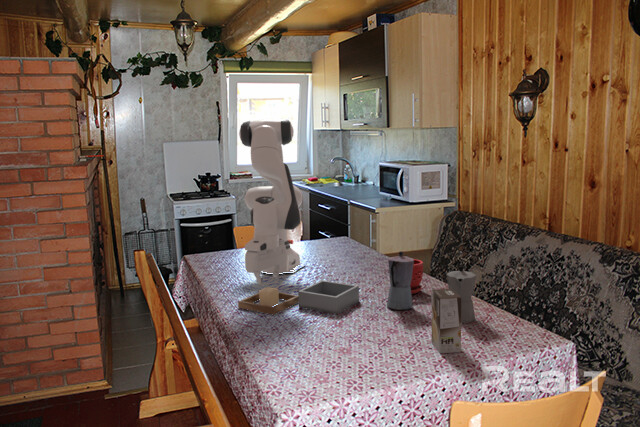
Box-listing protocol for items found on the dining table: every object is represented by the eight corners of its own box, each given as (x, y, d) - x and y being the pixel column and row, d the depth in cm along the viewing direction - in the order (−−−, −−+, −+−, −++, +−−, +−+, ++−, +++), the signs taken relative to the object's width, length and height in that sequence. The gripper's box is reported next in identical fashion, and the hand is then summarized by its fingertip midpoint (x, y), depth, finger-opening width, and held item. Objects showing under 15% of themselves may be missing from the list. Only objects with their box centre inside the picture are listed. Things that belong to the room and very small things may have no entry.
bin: (322, 295, 207) (322, 280, 206) (359, 301, 199) (358, 285, 198) (298, 307, 194) (298, 291, 193) (336, 314, 185) (336, 297, 185)
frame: (265, 296, 208) (265, 289, 208) (299, 302, 200) (299, 295, 199) (238, 308, 195) (238, 301, 195) (273, 315, 186) (273, 308, 186)
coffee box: (461, 352, 151) (462, 297, 149) (439, 353, 151) (440, 298, 148) (451, 340, 160) (451, 288, 158) (430, 341, 160) (430, 289, 157)
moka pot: (418, 302, 196) (418, 248, 193) (407, 315, 182) (406, 258, 179) (393, 299, 200) (393, 246, 197) (380, 312, 186) (379, 256, 183)
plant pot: (429, 290, 210) (429, 260, 209) (410, 298, 201) (410, 267, 199) (401, 284, 219) (401, 255, 217) (382, 292, 210) (382, 262, 208)
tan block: (268, 302, 201) (267, 286, 200) (279, 304, 198) (278, 288, 197) (259, 306, 197) (259, 290, 196) (270, 308, 194) (269, 292, 193)
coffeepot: (474, 326, 171) (475, 271, 168) (444, 324, 173) (444, 269, 171) (476, 310, 185) (477, 259, 182) (448, 309, 188) (448, 258, 185)
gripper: (277, 236, 204) (278, 272, 206) (241, 246, 187) (243, 285, 189) (290, 238, 201) (291, 274, 202) (255, 247, 184) (257, 287, 185)
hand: (268, 279), depth 196 cm, fingers open, 8 cm apart
